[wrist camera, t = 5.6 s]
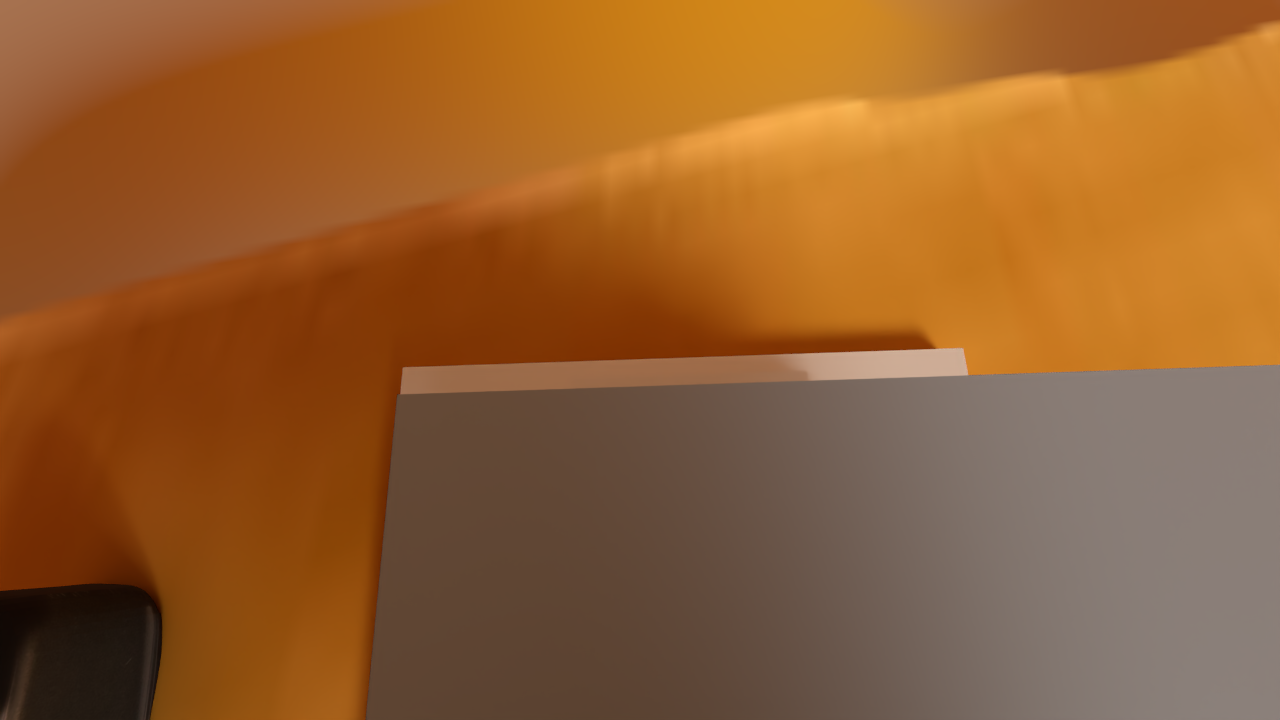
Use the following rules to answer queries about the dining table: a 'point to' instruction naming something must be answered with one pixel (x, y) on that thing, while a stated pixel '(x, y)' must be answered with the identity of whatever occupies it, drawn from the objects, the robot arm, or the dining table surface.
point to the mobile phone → (78, 653)
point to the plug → (837, 550)
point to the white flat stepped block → (684, 371)
